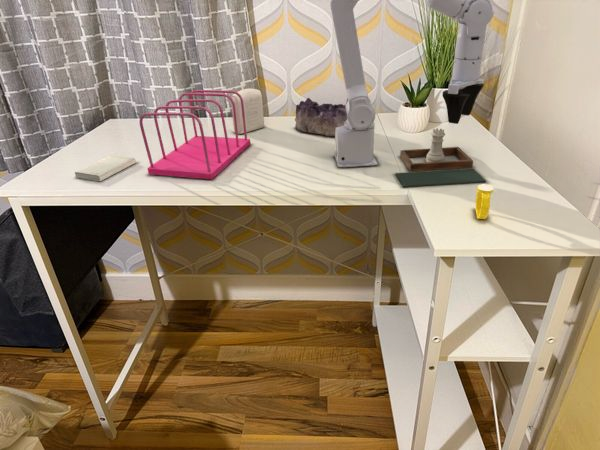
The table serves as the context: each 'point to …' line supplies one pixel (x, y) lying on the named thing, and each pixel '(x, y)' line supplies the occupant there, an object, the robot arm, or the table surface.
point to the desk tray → (462, 163)
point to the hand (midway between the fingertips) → (459, 118)
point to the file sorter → (197, 142)
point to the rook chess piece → (436, 147)
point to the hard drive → (105, 168)
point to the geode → (319, 117)
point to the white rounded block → (248, 110)
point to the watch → (483, 200)
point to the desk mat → (439, 177)
